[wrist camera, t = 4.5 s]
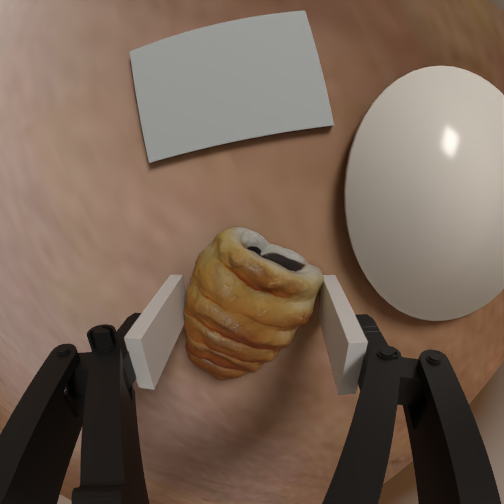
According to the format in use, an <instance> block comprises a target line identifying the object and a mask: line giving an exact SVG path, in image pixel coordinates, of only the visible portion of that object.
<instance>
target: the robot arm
mask: <svg viewBox="0 0 504 504" xmlns="http://www.w3.org/2000/svg"><path fill="white" fill-rule="evenodd" d="M323 276H324V283H323V286H322V287H321V293H320V306H319V317H318V318H319V321H320V325H321V329H322V332H323V336H324V340H325V344H326V347H327V351H328V355H329V359H330V363H331V367H332V371H333V375H334V379H335V383H336V387H337V391H338V395H343V394H354V393H356V390H357V386H358V385H359V388H360V394H359V398H358V401H357V405H356V408H355V412H354V416H353V419H352V423H351V426H350V429H349V432H348V435H347V439H346V442H345V445H344V448H343V451H342V454H341V456H340V459H339V462H338V465H337V468H336V470H335V473H334V476H333V478H332V481H331V483H330V486H329V489H328V491H327V493H326V496H325V498H324V501H323V503H322V504H378V501H379V497H380V494H381V490H382V486H383V481H384V477H385V473H386V468H387V464H388V459H389V454H390V448H391V443H392V437H393V431H394V424H395V417H396V410H397V405H403V408H404V413H405V418H406V423H407V428H408V433H409V438H410V444H411V450H412V456H413V462H414V469H415V476H416V484H417V492H418V501H419V504H501V501H500V497H499V493H498V489H497V486H496V482H495V478H494V474H493V471H492V468H491V464H490V461H489V458H488V455H487V452H486V449H485V446H484V443H483V440H482V438H481V435H480V432H479V429H478V427H477V424H476V422H475V419H474V416H473V414H472V411H471V409H470V406H469V404H468V402H467V399H466V397H465V394H464V392H463V390H462V388H461V385H460V383H459V381H458V379H457V377H456V374H455V372H454V370H453V368H452V366H451V364H450V362H449V360H448V358H447V357H446V355H445V354H443V353H442V352H440V351H437V350H426V351H424V352H422V353H421V354H420V356H419V359H412V358H404V357H401V353H400V352H399V351H398V350H397V349H396V348H394V347H391V346H388V344H387V342H386V341H385V339H384V337H383V335H382V333H381V332H380V330H379V328H378V327H377V324H376V323H375V321H374V319H372V318H371V317H370V316H368V315H367V314H363V315H355V314H354V312H353V310H352V308H351V306H350V304H349V302H348V300H347V298H346V296H345V294H344V292H343V290H342V288H341V286H340V284H339V282H338V280H337V278H336V276H335V275H323ZM185 302H186V299H185V289H184V280H183V275H170V276H169V277H168V279H167V280H166V281H165V283H164V284H163V285H162V287H161V288H160V289H159V291H158V292H157V293H156V295H155V296H154V297H153V299H152V300H151V301H150V303H149V304H148V305H147V307H146V308H145V309H144V311H143V312H142V313H134V314H132V315H131V316H129V317H128V318H127V319H126V320H125V321H124V323H123V324H122V325H121V327H120V329H118V330H117V332H116V329H115V327H113V326H112V325H108V324H107V325H98V326H95V327H93V328H91V329H90V330H89V331H88V333H87V337H88V340H89V343H90V346H91V349H92V352H87V353H78V352H77V349H76V347H75V346H74V345H72V344H62V345H59V346H57V347H56V348H54V349H53V350H52V351H51V353H50V354H49V356H48V357H47V359H46V360H45V362H44V363H43V365H42V366H41V368H40V369H39V371H38V372H37V374H36V375H35V377H34V379H33V380H32V382H31V383H30V385H29V386H28V388H27V390H26V391H25V393H24V394H23V396H22V398H21V399H20V401H19V403H18V404H17V406H16V408H15V410H14V411H13V413H12V415H11V416H10V418H9V420H8V422H7V424H6V425H5V427H4V429H3V431H2V433H1V435H0V504H57V501H58V498H59V494H60V491H61V487H62V484H63V481H64V478H65V474H66V471H67V468H68V465H69V462H70V459H71V456H72V453H73V450H74V447H75V445H76V442H77V439H78V436H79V433H80V431H81V428H82V441H81V475H80V481H81V482H80V486H79V487H78V488H74V490H73V491H72V504H149V500H148V495H147V489H146V484H145V478H144V472H143V465H142V458H141V451H140V443H139V435H138V425H137V415H136V403H135V391H134V388H133V385H132V384H133V382H134V381H135V379H136V380H137V383H138V386H139V388H146V389H153V390H155V387H156V385H157V383H158V381H159V378H160V376H161V374H162V372H163V369H164V367H165V365H166V363H167V361H168V358H169V356H170V354H171V352H172V350H173V347H174V345H175V343H176V341H177V339H178V337H179V334H180V332H181V330H182V328H183V326H184V324H185V317H184V307H185ZM65 389H66V390H65ZM64 390H65V392H64ZM82 425H83V426H82Z"/></svg>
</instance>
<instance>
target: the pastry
mask: <svg viewBox="0 0 504 504" xmlns="http://www.w3.org/2000/svg"><path fill="white" fill-rule="evenodd" d="M323 283H324V276H323V274H322V272H321V270H320V269H319V268H318V267H315V266H312V265H310V264H309V263H308V262H307V261H306V260H305V259H304V258H303V257H302V256H301V255H299V254H298V253H296V252H294V251H292V250H290V249H286V248H283V247H281V246H278V245H274V244H269V243H268V242H267V241H266V240H265V238H264V237H262V236H261V235H260V234H258V233H257V232H254V231H251V230H249V229H247V228H243V227H232V228H229V229H226V230H224V231H222V232H221V233H219V234H218V235H217V236H216V237H215V239H214V240H213V241H212V243H211V244H210V245H209V246H208V247H207V248H206V249H204V250H203V251H202V252H201V253H200V254H199V256H198V258H197V260H196V263H195V268H194V273H193V276H192V278H191V282H190V285H189V287H188V289H187V292H186V294H185V299H186V302H185V307H184V317H185V324H184V328H185V330H186V337H187V342H186V350H187V353H188V356H189V358H190V360H191V361H192V362H193V363H194V364H195V365H196V366H197V367H199V368H201V369H203V370H205V371H206V372H209V373H211V374H212V375H213V376H214V377H215V378H217V379H219V380H226V379H229V378H232V379H233V378H238V377H240V376H242V375H244V374H246V373H248V372H256V371H257V370H258V369H260V368H261V366H262V365H263V363H264V362H269V361H272V360H273V359H274V358H275V357H276V355H277V354H278V352H279V351H280V350H281V349H283V348H285V347H288V346H289V344H290V343H291V341H292V340H293V337H294V334H295V331H296V330H297V329H298V328H299V326H302V325H304V324H306V323H307V322H308V321H309V320H310V318H311V316H312V314H313V308H314V303H315V298H316V296H317V294H318V291H319V289H320V288H321V287H322V286H323Z"/></svg>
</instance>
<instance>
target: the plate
mask: <svg viewBox="0 0 504 504" xmlns="http://www.w3.org/2000/svg"><path fill="white" fill-rule="evenodd" d="M344 211H345V218H346V225H347V231H348V235H349V238H350V242H351V246H352V249H353V251H354V254H355V256H356V259H357V261H358V264H359V265H360V267H361V269H362V271H363V273H364V274H365V276H366V278H367V279H368V281H369V282H370V283H371V285H372V286H373V287H374V289H375V290H376V291H377V293H378V294H379V295H380V296H381V297H383V298H384V299H385V300H386V301H387V302H388V303H389V304H390V305H392V306H393V307H395V308H396V309H397V310H399V311H401V312H403V313H405V314H407V315H409V316H412V317H415V318H418V319H422V320H430V321H444V320H451V319H456V318H459V317H462V316H465V315H468V314H470V313H472V312H474V311H476V310H478V309H480V308H481V307H483V306H484V305H486V304H487V303H489V302H490V301H491V300H492V299H493V298H495V297H496V296H497V295H498V294H499V293H500V292H501V291H502V290H503V289H504V95H503V94H502V93H501V92H500V91H499V90H498V89H497V88H496V87H494V86H493V85H492V84H491V83H489V82H488V81H486V80H485V79H483V78H482V77H480V76H478V75H476V74H474V73H472V72H469V71H467V70H464V69H460V68H456V67H450V66H432V67H425V68H422V69H419V70H415V71H412V72H410V73H408V74H407V75H405V76H403V77H401V78H399V79H397V80H396V81H394V82H393V83H392V84H390V85H389V86H388V87H387V88H385V89H384V90H383V91H382V92H381V93H380V95H379V96H378V97H377V98H376V99H375V100H374V101H373V102H372V104H371V105H370V107H369V108H368V110H367V111H366V113H365V114H364V116H363V118H362V120H361V122H360V124H359V126H358V128H357V131H356V133H355V136H354V139H353V142H352V145H351V148H350V151H349V156H348V161H347V166H346V170H345V183H344Z"/></svg>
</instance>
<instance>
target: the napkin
mask: <svg viewBox="0 0 504 504" xmlns="http://www.w3.org/2000/svg"><path fill="white" fill-rule="evenodd" d="M130 57H131V65H132V72H133V79H134V85H135V91H136V97H137V103H138V109H139V115H140V120H141V126H142V131H143V136H144V141H145V146H146V151H147V156H148V160H149V163H152V162H155V161H159V160H162V159H166V158H170V157H173V156H177V155H181V154H185V153H189V152H193V151H197V150H201V149H205V148H209V147H213V146H218V145H222V144H227V143H232V142H236V141H241V140H246V139H251V138H256V137H262V136H267V135H273V134H279V133H285V132H291V131H298V130H304V129H311V128H319V127H327V126H333V125H334V123H333V118H332V113H331V108H330V103H329V99H328V94H327V90H326V86H325V81H324V77H323V73H322V69H321V65H320V61H319V57H318V54H317V50H316V46H315V43H314V39H313V36H312V32H311V29H310V25H309V22H308V19H307V16H306V13H305V11H294V12H284V13H276V14H268V15H262V16H255V17H249V18H244V19H238V20H233V21H228V22H224V23H219V24H215V25H211V26H207V27H203V28H199V29H195V30H192V31H188V32H185V33H181V34H178V35H175V36H171V37H168V38H165V39H162V40H159V41H156V42H154V43H151V44H148V45H145V46H143V47H140V48H137V49H135V50H132V51H130Z"/></svg>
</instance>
